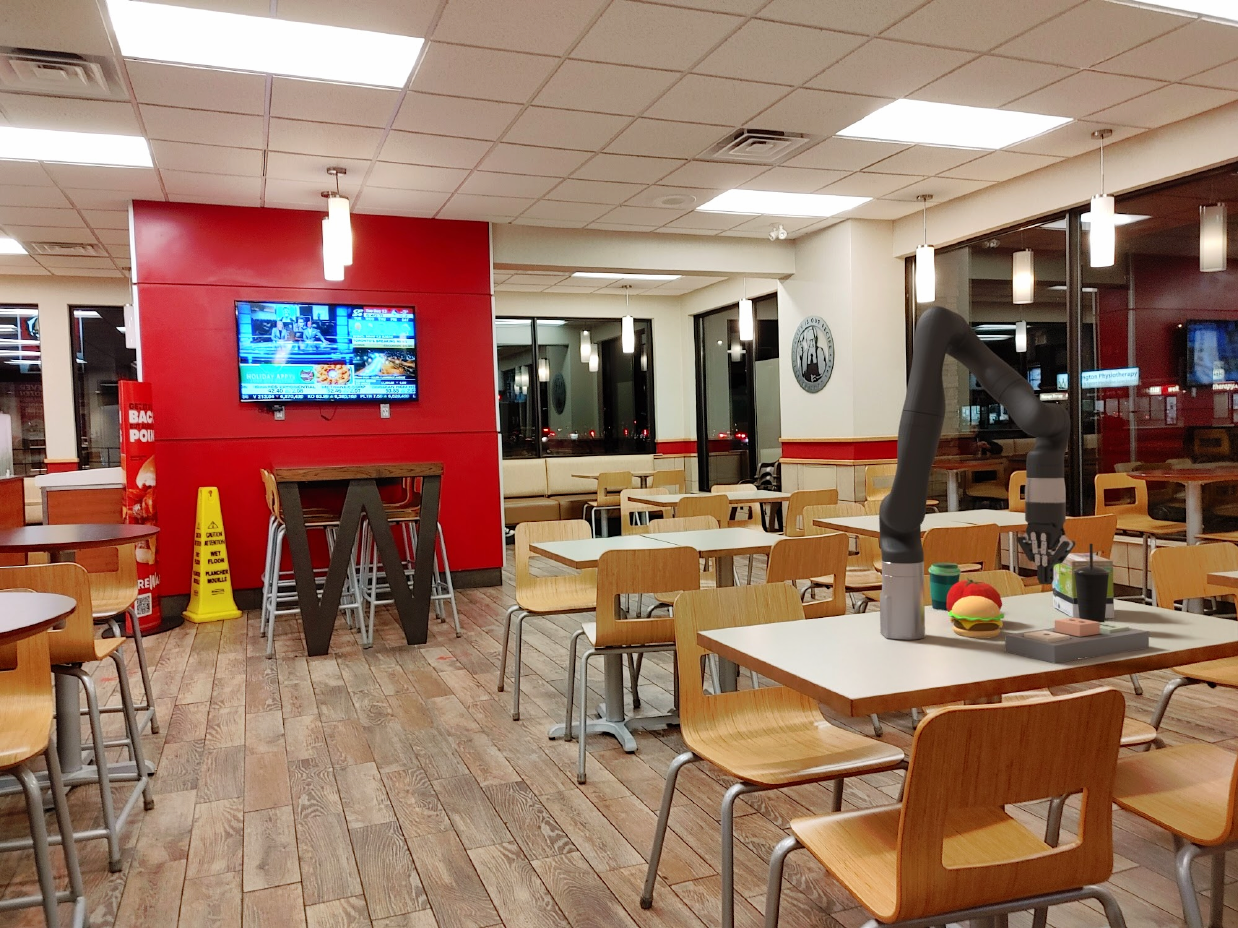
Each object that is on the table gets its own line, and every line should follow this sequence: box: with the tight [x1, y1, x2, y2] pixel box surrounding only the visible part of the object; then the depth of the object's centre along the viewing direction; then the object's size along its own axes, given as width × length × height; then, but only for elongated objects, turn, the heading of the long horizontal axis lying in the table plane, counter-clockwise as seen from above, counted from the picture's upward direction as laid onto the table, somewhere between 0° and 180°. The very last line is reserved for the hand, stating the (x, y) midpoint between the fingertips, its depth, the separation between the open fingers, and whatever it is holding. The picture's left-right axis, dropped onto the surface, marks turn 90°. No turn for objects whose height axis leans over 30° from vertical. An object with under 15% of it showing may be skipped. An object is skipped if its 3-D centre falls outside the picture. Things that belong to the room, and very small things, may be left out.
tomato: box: [947, 577, 1003, 613], centre depth 216 cm, size 13×12×11 cm
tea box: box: [1052, 552, 1115, 619], centre depth 225 cm, size 15×10×15 cm, turn 172°
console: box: [1004, 622, 1150, 664], centre depth 185 cm, size 28×12×4 cm, turn 114°
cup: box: [928, 562, 962, 611], centre depth 235 cm, size 8×8×12 cm
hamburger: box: [947, 596, 1005, 639], centre depth 203 cm, size 12×12×9 cm
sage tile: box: [1100, 621, 1130, 633], centre depth 189 cm, size 6×6×2 cm
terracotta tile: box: [1054, 617, 1100, 637], centre depth 185 cm, size 6×6×2 cm
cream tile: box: [1024, 631, 1070, 642], centre depth 182 cm, size 6×6×2 cm
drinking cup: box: [1073, 543, 1110, 623], centre depth 206 cm, size 8×8×20 cm
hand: (1045, 583), depth 181 cm, fingers closed
